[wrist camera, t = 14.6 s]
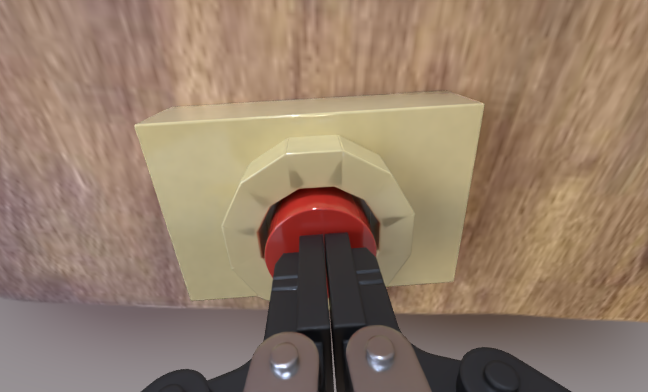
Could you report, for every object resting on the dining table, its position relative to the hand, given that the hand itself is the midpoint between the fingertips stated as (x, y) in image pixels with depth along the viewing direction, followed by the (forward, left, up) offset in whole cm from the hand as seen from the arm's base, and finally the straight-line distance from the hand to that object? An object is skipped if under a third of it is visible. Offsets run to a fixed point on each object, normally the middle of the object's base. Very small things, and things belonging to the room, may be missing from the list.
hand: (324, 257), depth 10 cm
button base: (0, 0, -6) cm, 6 cm away
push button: (0, 0, -2) cm, 2 cm away
